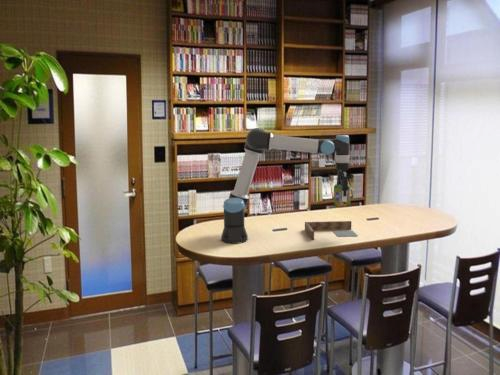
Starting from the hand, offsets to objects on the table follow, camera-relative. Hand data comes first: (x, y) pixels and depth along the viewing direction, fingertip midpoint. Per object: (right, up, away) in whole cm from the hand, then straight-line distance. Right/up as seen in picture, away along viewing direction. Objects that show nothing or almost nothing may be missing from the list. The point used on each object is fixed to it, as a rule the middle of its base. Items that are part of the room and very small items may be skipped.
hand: (342, 199), depth 269 cm
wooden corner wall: (-5, -20, +4) cm, 22 cm away
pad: (+3, -20, +5) cm, 21 cm away
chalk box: (0, -3, +1) cm, 3 cm away
